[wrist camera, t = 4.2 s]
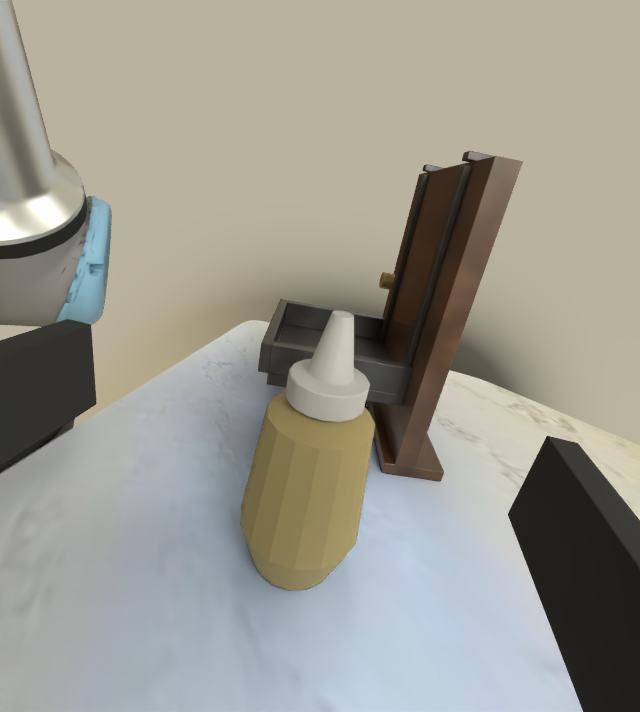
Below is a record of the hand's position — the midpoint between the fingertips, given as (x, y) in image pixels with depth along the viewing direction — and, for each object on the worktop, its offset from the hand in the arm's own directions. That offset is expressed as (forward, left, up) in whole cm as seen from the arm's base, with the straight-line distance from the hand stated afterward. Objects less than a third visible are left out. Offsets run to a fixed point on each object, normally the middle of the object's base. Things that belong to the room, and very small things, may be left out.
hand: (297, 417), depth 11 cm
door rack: (+6, +31, -17) cm, 36 cm away
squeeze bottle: (+2, +10, -18) cm, 20 cm away
